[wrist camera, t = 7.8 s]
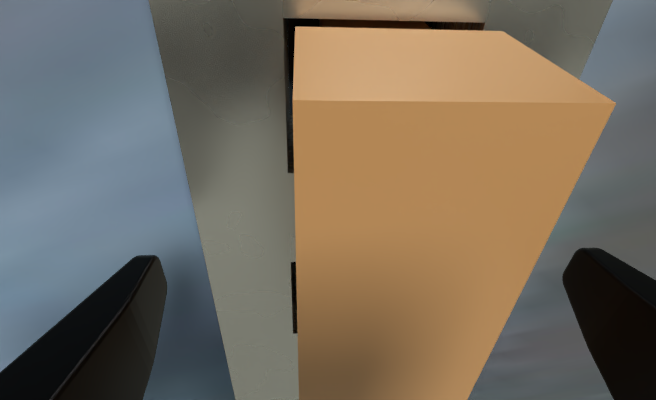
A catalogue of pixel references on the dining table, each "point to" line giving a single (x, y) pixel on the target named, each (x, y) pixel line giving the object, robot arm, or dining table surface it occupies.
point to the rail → (290, 143)
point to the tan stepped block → (422, 198)
